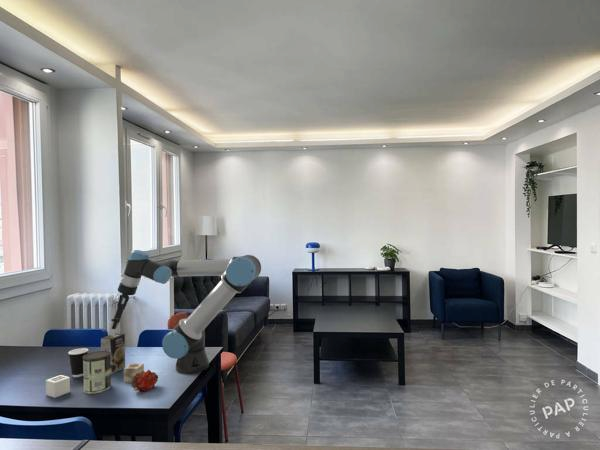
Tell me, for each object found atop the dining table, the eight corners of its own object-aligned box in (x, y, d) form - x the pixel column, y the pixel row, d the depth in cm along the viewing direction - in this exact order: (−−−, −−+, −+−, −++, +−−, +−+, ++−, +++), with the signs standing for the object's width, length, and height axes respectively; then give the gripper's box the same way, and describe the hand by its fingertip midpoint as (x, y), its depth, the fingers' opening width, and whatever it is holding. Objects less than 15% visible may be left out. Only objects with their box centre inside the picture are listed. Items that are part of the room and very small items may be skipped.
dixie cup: (65, 375, 172) (65, 351, 172) (84, 370, 178) (84, 346, 178) (72, 380, 167) (72, 355, 167) (91, 374, 173) (91, 350, 173)
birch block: (143, 376, 170) (143, 363, 170) (137, 382, 164) (137, 368, 164) (130, 376, 170) (130, 363, 170) (123, 382, 164) (123, 368, 164)
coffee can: (102, 381, 165) (102, 349, 165) (116, 386, 160) (115, 353, 160) (78, 390, 157) (77, 356, 157) (91, 396, 151) (91, 360, 151)
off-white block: (69, 391, 155) (69, 376, 155) (54, 398, 150) (54, 382, 150) (61, 389, 158) (61, 374, 158) (46, 395, 153) (45, 379, 153)
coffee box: (113, 374, 173) (112, 339, 173) (100, 373, 174) (100, 338, 174) (126, 367, 182) (125, 333, 182) (114, 366, 183) (113, 332, 183)
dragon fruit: (129, 399, 151) (155, 392, 161) (141, 390, 148) (167, 383, 158) (124, 378, 155) (149, 373, 165) (135, 369, 152) (161, 364, 162)
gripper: (123, 274, 179) (108, 315, 180) (116, 291, 156) (99, 338, 157) (139, 278, 182) (124, 319, 183) (135, 295, 159) (118, 342, 160)
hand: (113, 328), depth 170 cm, fingers open, 13 cm apart
